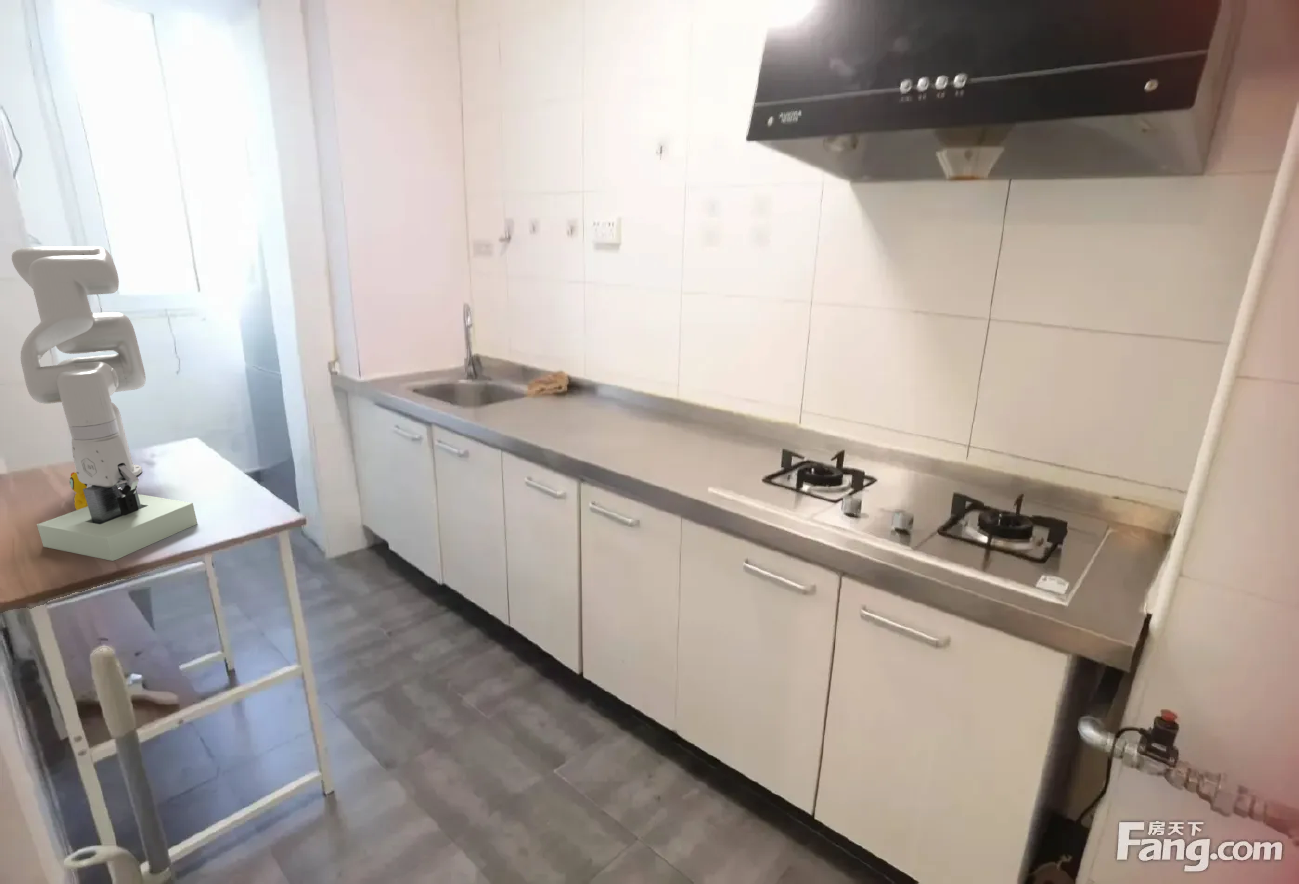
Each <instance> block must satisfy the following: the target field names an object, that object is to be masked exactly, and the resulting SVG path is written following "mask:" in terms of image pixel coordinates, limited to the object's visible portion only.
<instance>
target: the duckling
mask: <svg viewBox="0 0 1299 884" xmlns="http://www.w3.org/2000/svg"><path fill="white" fill-rule="evenodd" d="M69 485H70V487H71V489H72V490H73V492H74V493H75V495H74V497H73V498H74V499H73V500H74V508H75V511H76V510H79V509H82V508H84V507H87V506H88V504H87V501H86V498H85V494H84V491H83V489H85V488H87V486H86V485H85V484H84V483H82V482H80V481H79V479H78V476H77V472H76V471H74V472H71V473H70V477H69Z"/></svg>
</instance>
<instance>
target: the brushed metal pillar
mask: <svg viewBox="0 0 1299 884" xmlns="http://www.w3.org/2000/svg"><path fill="white" fill-rule="evenodd" d="M121 481H123V480H118V482H121ZM120 487H121V489H122V490H123V489H124V487H125V484H123V485H120ZM83 491H84V494H85V498H86V501H87V504H88V508H89V511H90V515H91V518H92V521H93V523H95V524H103V523H105V522H108V521H110V520H113V519H116V518H118V517H121V516H123V515H122V514H121V511H120V508H119V504H118V500H117V498H118V497H119V495H118V494H117V492H116V491H115V489H114V488H113V487H110V488H107V487H100V486H91V487H88V488H85V489H83ZM138 494H139V493H138V490H137V488H136V493H135V497H136V501H137V504H138V508H139V509H141V504H140V500H139V497H138ZM139 509H138V510H139Z"/></svg>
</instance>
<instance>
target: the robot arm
mask: <svg viewBox="0 0 1299 884" xmlns="http://www.w3.org/2000/svg"><path fill="white" fill-rule="evenodd" d="M11 263H12V265H13V267H14V269H15V271H16V272H17V274H18V275H19V276H20V277H21V278H22V280H23V281H24V282H26V284H27V285H29V286H30V288H31V289H32V291H33V296H34V299H35V303H36V307H37V312H38V315H39V319H40V322H39V324H38V325H36V327H34V328H33V329H32V330H31V331H30V333H29V334H28V335H27V337H26V338H25V340H24V341H23V344H22V346H21V350H20V364H21V368H22V372H23V377H24V382H25V386H26V389H27V392H28V394H29V396H30V397H31V398H32V399H33V400H34V401H36V402H37V403H39V404H43V405H45V404H47V405H48V404H58V403H62V407H63V412H64V415H65V417H66V421H67V426H68V429H69V432H70V436H71V452H72V457H73V463H74V468H75V473H76V472H77V476H78V479H79V481H80V482H82V483H84V484H85V485H86V486H87V488H88V487H91V486H100V487H107V488H110V487H113V488H114V489H115V491H116V492H117V494H118V495H119V497H118V498H117V500H118V504H119V508H120V511H121V514H122V515H128V514H130V513H133V512H135V511H138V509H139V508H138V504H137V501H136V497H135V493H136V489H137V488H138V483H139V482H140V481H139V478H138V475H140V474H141V473H142V472H143V467H142V466H141V465H139V464H134V462H133V458H132V455H131V450H130V447H129V443H128V439H127V435H126V431H125V427H124V423H123V420H122V417H121V412H120V409H119V408H118V407H117V405H116V404H115V403H113V402H112V399H111V396H112V395H113V394H114V393H118V392H127V391H135V390H138V389H141V388H143V387H144V386H145V384H146V372H145V367H144V363H143V360H142V356H141V351H140V346H139V344H138V339H137V338H138V337H137V336H136V334H137V333H136V332H135V329H134V326H133V324H132V321H131V319H130V318H129V317H128V316H127V315H126V314H125V313H122V312H117V311H110V312H109V311H107V312H93V311H92V310H91V305H90V303H89V298H88V296H91V295H92V296H94V295H111V294H114V293H116V292H117V291H118V289H119V285H120V281H119V276H118V271H117V267H116V265H115V263H114V259H113V258H112V255H111V254H110V252H109V251H108V250H107V249H106V248H104V247H102V246H97V245H96V246H95V245H92V246H89V245H87V246H86V245H84V246H83V245H81V246H80V245H79V246H75V245H74V246H57V245H55V246H54V245H53V246H32V247H31V246H29V247H22V248H19V249H16V250H15V251H13V252H12V254H11ZM55 347H56V349H57V350H58V351H59V352H62V353H63V354H69V355H78V354H90V353H91V354H92V353H103V352H105V353H106V352H115V353H116V354H103V355H93V356H89V355H88V356H81V357H74V358H73V357H72V358H67V359H65V360H62V361H60V362H59V363H57V364H55V365H46V366H41V359H42V357H43V356H44V355H45V354H46V353H47V352H48V351H50V350H51V349H52V348H55ZM118 480H123V481H121V482H118ZM123 484H125V487H124V489H123V490H122V489H121V487H120V485H123Z"/></svg>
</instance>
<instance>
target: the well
mask: <svg viewBox="0 0 1299 884" xmlns="http://www.w3.org/2000/svg"><path fill="white" fill-rule="evenodd" d="M138 497H139V500H140V504H141V509H139V510H138V511H135V512H133V513H130V514H128V515H123V516H121V517H118V518H116V519H113V520H110V521H108V522H105V523H103V524H95V523H93V521H92V518H91V515H90V511H89V508H88V506H87V507H84V508H82V509H79V510H76V509H75V510H73V511H72V512H71V511H70V512H67V513H65V514H63V515H59V516H57V517H55V518H51V519H49V520H46V521H42V522H40V523H37V524H36V526H37V530H38V533H39V536H40V540H41V542H42V546H43V548H49V549H53V550H58V551H62V552H68V553H73V554H78V555H82V556H85V557H86V556H87V557H92V558H96V559H97V558H98V559H101V560H107V561H112V562H115V561H116V560H119V559H121V558H123V557H125V556H128V555H130V554H132V553H135V552H137V551H139V550H142V549H143V548H146V547H148V546H150V545H153V544H155V543H158V542H159V541H162V540H164V539H167V538H168V537H171V536H173V535H175V534H178V533H179V532H180V533H181V532H182V531H184V530H187V529H188V528H191V527H193V526H195V525H198V521H197V516H196V511H195V506H194V503H193V502H189V501H182V500H178V499H169V498H163V497H159V496H153V495H152V496H151V495H145V494H139V493H138Z"/></svg>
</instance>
